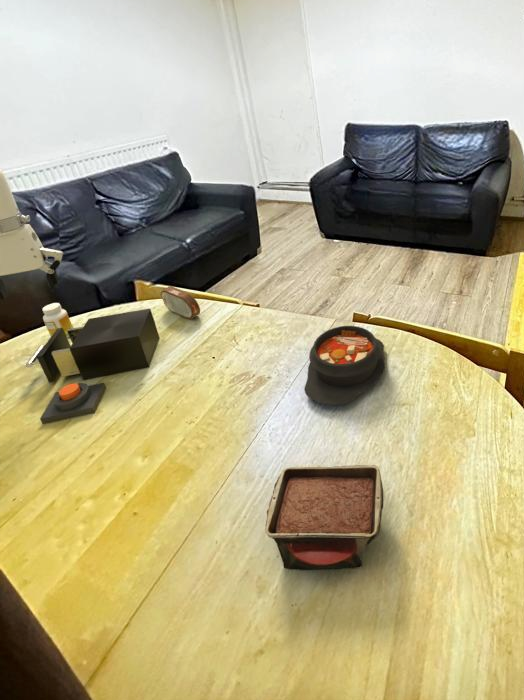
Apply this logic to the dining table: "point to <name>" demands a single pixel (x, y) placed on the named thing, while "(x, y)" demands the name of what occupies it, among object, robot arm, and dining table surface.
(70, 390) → the button
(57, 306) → the supplement bottle
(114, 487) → the dining table surface
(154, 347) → the black rectangular box
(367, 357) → the casserole
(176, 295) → the tin
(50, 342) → the drawer
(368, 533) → the baking dish
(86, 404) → the panel
